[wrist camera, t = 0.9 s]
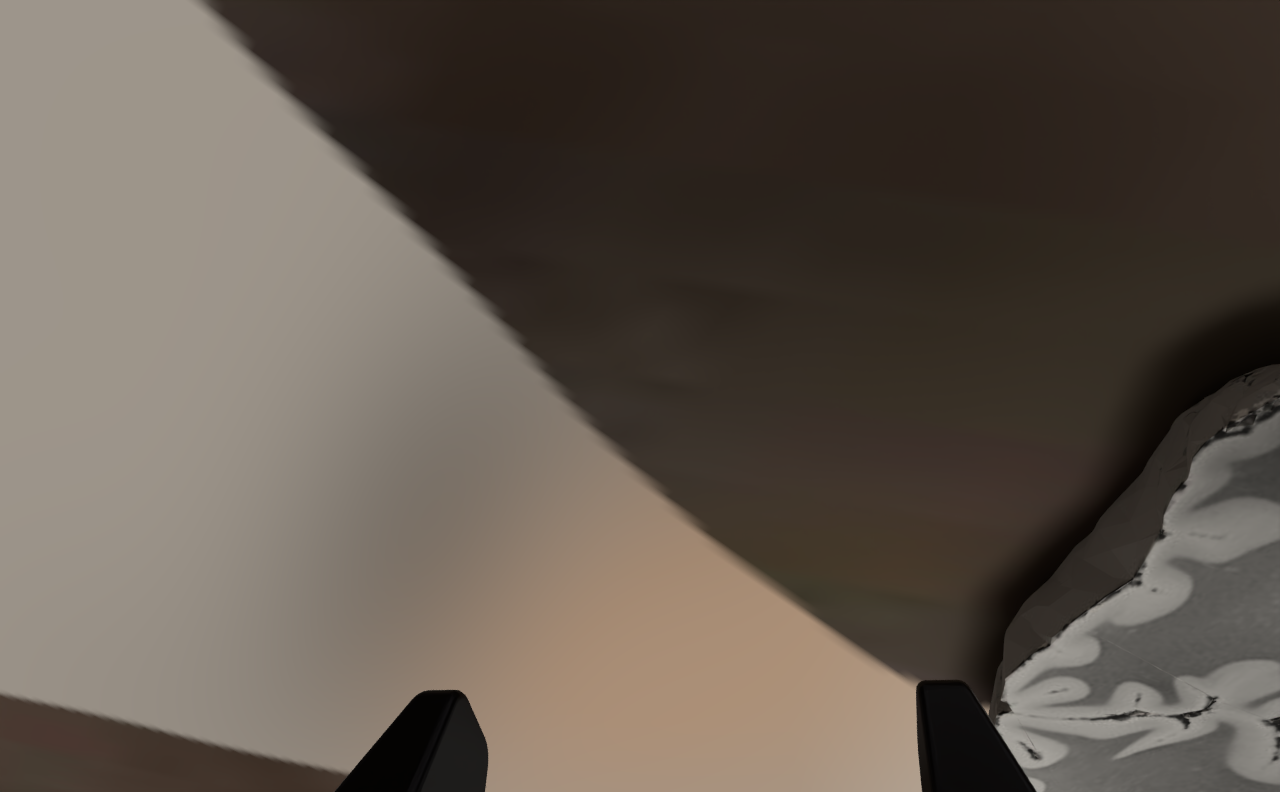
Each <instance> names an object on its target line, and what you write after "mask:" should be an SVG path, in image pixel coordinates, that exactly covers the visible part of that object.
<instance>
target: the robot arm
mask: <svg viewBox="0 0 1280 792" xmlns="http://www.w3.org/2000/svg"><path fill="white" fill-rule="evenodd" d="M916 706H917V707H916V708H917V739H918V754H919V765H920V776H921V785H922V792H1037V791H1036V789H1035V788H1034V786H1033V785H1032V783H1031V782H1030V780H1029V779H1028V777H1027V775H1026V774H1025V772H1024V771H1023V769H1022V768H1021V766H1020V764H1019V763H1018V761H1017V760H1016V758H1015V757H1014V755H1013V754H1012V752H1011V750H1010V749H1009V747H1008V746H1007V744H1006V743H1005V741H1004V739H1003V738H1002V736H1001V735H1000V733H999V732H998V730H997V728H996V727H995V725H994V724H993V722H992V721H991V719H990V718H989V716H988V714H987V713H986V711H985V710H984V708H983V707H982V705H981V703H980V702H979V700H978V699H977V697H976V696H975V694H974V692H973V691H972V690H971V688H970V687H969V686H968V685H967V684H966V683H965V682H963V681H961V680H924V681H921V682H920V683H918V685H917V687H916ZM487 770H488V749H487V743H486V740H485V737H484V735H483V732H482V730H481V728H480V726H479V723H478V721H477V719H476V717H475V715H474V712H473V710H472V708H471V706H470V703H469V701H468V699H467V697H466V696H465V695H464V694H463V693H462V692H460V691H459V690H428V691H423V692H421V693H419V694H418V695H416V696H415V697H414V698H413V699H412V700H411V701H410V703H409V704H408V705H407V706H406V707H405V709H404V710H403V711H402V712H401V713H400V715H399V716H398V717H397V718H396V719H395V720H394V722H393V723H392V724H391V725H390V726H389V728H388V729H387V730H386V731H385V732H384V733H383V735H382V736H381V737H380V738H379V740H378V741H377V742H376V743H375V744H374V745H373V746H372V748H371V749H370V750H369V751H368V752H367V754H366V755H365V756H364V757H363V758H362V760H361V761H360V762H359V763H358V764H357V765H356V767H355V768H354V769H353V770H352V771H351V773H350V774H349V775H348V776H347V777H346V779H345V780H344V781H343V782H342V783H341V784H340V786H339V787H338V788H337V789H336V790H335V792H485V786H486V777H487Z"/></svg>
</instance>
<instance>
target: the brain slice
mask: <svg viewBox="0 0 1280 792" xmlns="http://www.w3.org/2000/svg"><path fill="white" fill-rule="evenodd" d="M988 716H989V718H990V719H991V721H992V722H993V724H994V725H995V727H996V728H997V730H998V732H999V733H1000V735H1001V736H1002V738H1003V739H1004V741H1005V743H1006V744H1007V746H1008V747H1009V749H1010V750H1011V752H1012V754H1013V755H1014V757H1015V758H1016V760H1017V761H1018V763H1019V764H1020V766H1021V768H1022V769H1023V771H1024V772H1025V774H1026V775H1027V777H1028V779H1029V780H1030V782H1031V783H1032V785H1033V786H1034V788H1035V789H1036V791H1037V792H1280V364H1278V365H1270V366H1266V367H1262V368H1259V369H1256V370H1253V371H1251V372H1249V373H1246V374H1244V375H1241V376H1239V377H1237V378H1235V379H1232V380H1230V381H1229V382H1228V383H1227V384H1225V385H1224V386H1223V387H1222V388H1221V389H1220V390H1218V391H1217V392H1216V393H1214V394H1212V395H1210V396H1207V397H1205V398H1204V399H1203V400H1202V401H1200V402H1199V403H1197V404H1196V405H1194V406H1193V407H1191V408H1190V409H1188V410H1187V411H1185V412H1183V413H1182V414H1181V415H1180V416H1179V417H1178V418H1176V420H1175V421H1174V423H1173V424H1172V426H1171V429H1170V431H1169V432H1168V434H1167V435H1166V436H1165V438H1164V439H1163V440H1162V442H1161V443H1160V444H1159V446H1158V447H1157V449H1156V450H1155V451H1154V453H1153V454H1152V456H1151V457H1150V459H1149V460H1148V462H1147V464H1146V467H1145V468H1144V471H1143V472H1142V473H1141V474H1140V476H1139V477H1138V478H1137V479H1136V480H1135V481H1134V482H1133V483H1132V484H1131V485H1130V486H1129V487H1128V488H1127V489H1126V490H1125V491H1124V492H1123V493H1122V494H1121V495H1120V497H1119V498H1118V499H1117V500H1116V501H1115V502H1114V503H1113V504H1112V505H1111V506H1110V507H1109V508H1108V509H1107V510H1106V512H1105V513H1104V514H1103V515H1102V516H1101V518H1100V519H1099V520H1098V522H1097V524H1096V526H1095V528H1094V530H1093V531H1092V532H1091V533H1090V534H1089V535H1088V536H1087V537H1086V538H1085V539H1083V540H1082V541H1081V542H1080V543H1078V544H1077V545H1076V546H1075V547H1074V549H1073V550H1072V551H1071V552H1070V554H1069V555H1068V556H1067V557H1066V559H1065V560H1064V561H1063V562H1062V564H1061V565H1060V566H1059V568H1058V569H1057V570H1056V571H1055V573H1054V574H1053V575H1052V576H1051V578H1050V579H1049V580H1048V581H1047V582H1045V583H1044V584H1043V585H1042V586H1041V587H1040V588H1039V589H1038V590H1037V591H1035V592H1034V593H1033V594H1032V595H1031V596H1030V597H1029V598H1028V599H1027V600H1026V601H1025V602H1024V603H1023V605H1022V607H1021V608H1020V610H1019V611H1018V613H1017V614H1016V616H1015V617H1014V619H1013V621H1012V622H1011V624H1010V625H1009V627H1008V628H1007V630H1006V632H1005V637H1004V653H1003V660H1002V662H1001V664H1000V665H999V667H998V669H997V674H996V679H995V684H994V689H993V694H992V700H991V705H990V710H989V715H988Z"/></svg>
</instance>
